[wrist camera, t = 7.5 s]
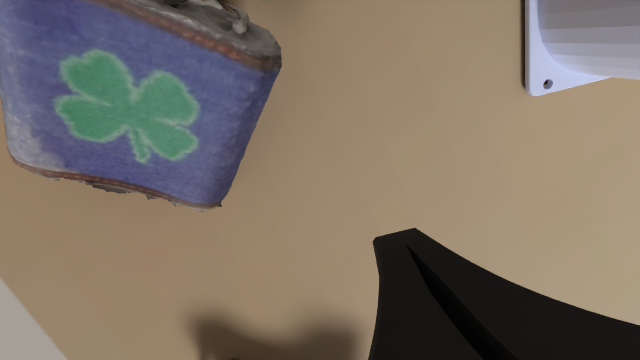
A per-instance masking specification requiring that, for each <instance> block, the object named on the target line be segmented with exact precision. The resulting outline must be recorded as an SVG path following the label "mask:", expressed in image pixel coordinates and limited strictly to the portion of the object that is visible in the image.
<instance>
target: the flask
mask: <svg viewBox="0 0 640 360" xmlns="http://www.w3.org/2000/svg"><path fill="white" fill-rule="evenodd" d="M227 5H228V6H229V7H230V8H231V9H233V10H234V11H235V12H236V13H237V15H235V14H233V13H231V12H229V11H227V10H225V9H223V7H222V6H221V5H220V3H219V2H217V1H216V0H0V97H1V101H2V108H3V115H4V122H5V130H6V139H7V149H8V152H9V154H10V156H11V158H12V159H13V162H14V163H15V164H17V165H18V166H20V167H22V168H24V169H26V170H28V171H30V172H32V173H34V174H37V175H41V176H43V177H46V178H48V179H53V180H59V178H61V177H64V179H70V180H73V181H78V182H84V183H85V184H87V185H89V184H90V185H92V186H93V187H94V188H99V189H103V190H106V191H107V192H116V193H126V192H128V193H131V192H136V191H137V192H139V193H142V194H146V196H147V198H148V200H149V199H151V198H152V199H156V198H162V199H166V200H168V201H170V202H172V203H173V204H174V205H182V206H186V207H188V208H192V209H196V210H198V211H207V210H211V209H212V208H213V209H214V208H216V207H222V205H221V201H222V200H223V198H224V197H225V196H226V195H227V193H228V191H229V189H230V187H231V185H232V182H233V180H234V177H235V175H236V173H237V170H238V167H239V164H240V162H241V160H242V158H243V157H244V154H245V149H246V147H247V145H248V142H249V140H250V137H251V135H252V133H253V131H254V129H255V127H256V124H257V121H258V118H259V116H260V114H261V112H262V110H263V107H264V105H265V103H266V101H267V99H268V96H269V94H270V91H271V88H272V86H273V83H274V81H275V79H276V77H277V75H278V74H279V72H280V68H281V66H282V62H281V47H280V46H279V45H278V43H277V41H276V39H275V37H274V36H273V35H272V34H271V33H270V31H269V30H267V29H264V28H262V27H260V26H258V25H256V24H254V23H252V22H249V16H248V14H247V13H246V12H244V11H243V10H241V9H239V8H237V7H235V6H232V5H230V4H228V3H227Z"/></svg>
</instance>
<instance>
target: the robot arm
mask: <svg viewBox="0 0 640 360" xmlns="http://www.w3.org/2000/svg"><path fill="white" fill-rule="evenodd" d="M610 77H618V78H627V79H636V80H640V0H525V89H526V92H527V93H528V94H529V95H532V96H540V95H543V94H547V93H551V92H555V91H559V90H563V89H567V88H571V87H575V86H579V85H583V84H587V83H591V82H594V81H598V80H602V79H606V78H610ZM546 80H547V81H548V83H547V85H546V87H543V84H544V82H545V81H546ZM373 246H374V251H375V256H376V262H377V267H378V272H379V297H378V309H377V317H376V324H375V330H374V335H373V340H372V345H371V349H370V354H369V358H368V360H640V325H636V324H632V323H628V322H625V321H621V320H617V319H614V318H610V317H607V316H604V315H600V314H597V313H594V312H590V311H587V310H584V309H581V308H578V307H575V306H573V305H570V304H567V303H564V302H561V301H558V300H555V299H552V298H550V297H547V296H544V295H542V294H539V293H537V292H534V291H532V290H529V289H527V288H525V287H522V286H520V285H517V284H515V283H513V282H510V281H508V280H506V279H504V278H502V277H499V276H497V275H495V274H493V273H491V272H489V271H488V270H486V269H484V268H482V267H480V266H478V265H476V264H474V263H472V262H470V261H468V260H467V259H465V258H463V257H461V256H460V255H458V254H456V253H454V252H453V251H451V250H449V249H448V248H446V247H445V246H443V245H441V244H440V243H438V242H436V241H435V240H433V239H432V238H430V237H429V236H427V235H425V234H424V233H422V232H421V231H419V230H418V229H416V228H412V229H408V230H403V231H399V232H395V233H391V234H387V235H383V236H379V237H376V238H375V239H374V240H373Z"/></svg>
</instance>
